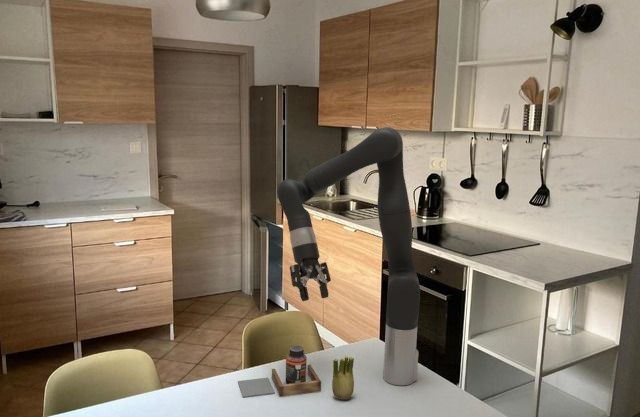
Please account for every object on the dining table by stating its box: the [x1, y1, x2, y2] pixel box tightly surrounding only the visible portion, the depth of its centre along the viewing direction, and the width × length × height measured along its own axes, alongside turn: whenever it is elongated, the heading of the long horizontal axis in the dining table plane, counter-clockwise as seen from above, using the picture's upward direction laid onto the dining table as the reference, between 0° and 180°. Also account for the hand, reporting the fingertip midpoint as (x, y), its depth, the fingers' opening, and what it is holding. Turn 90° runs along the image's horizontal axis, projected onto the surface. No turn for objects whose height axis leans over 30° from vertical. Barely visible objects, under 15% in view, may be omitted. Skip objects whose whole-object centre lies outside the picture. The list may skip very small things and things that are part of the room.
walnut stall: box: [271, 364, 322, 398], centre depth 155 cm, size 12×11×3 cm
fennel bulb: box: [331, 355, 355, 401], centre depth 148 cm, size 6×5×12 cm
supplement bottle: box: [285, 345, 308, 384], centre depth 154 cm, size 6×6×11 cm
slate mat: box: [237, 377, 276, 399], centre depth 153 cm, size 9×9×1 cm
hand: (315, 299), depth 154 cm, fingers open, 8 cm apart
